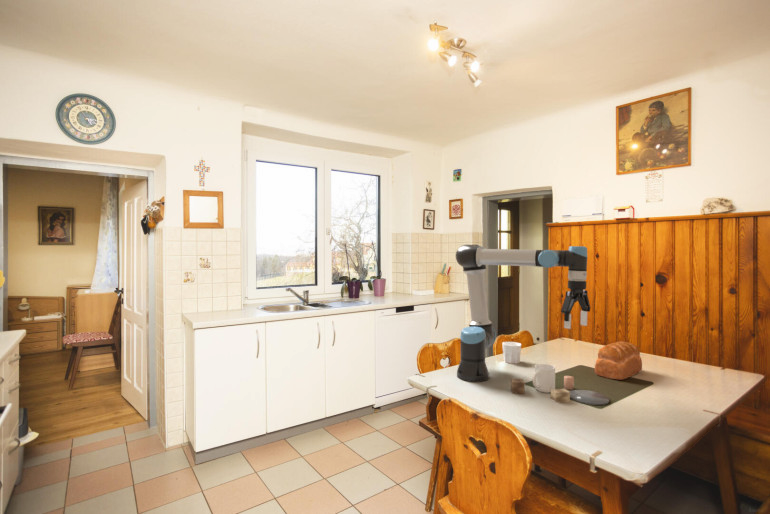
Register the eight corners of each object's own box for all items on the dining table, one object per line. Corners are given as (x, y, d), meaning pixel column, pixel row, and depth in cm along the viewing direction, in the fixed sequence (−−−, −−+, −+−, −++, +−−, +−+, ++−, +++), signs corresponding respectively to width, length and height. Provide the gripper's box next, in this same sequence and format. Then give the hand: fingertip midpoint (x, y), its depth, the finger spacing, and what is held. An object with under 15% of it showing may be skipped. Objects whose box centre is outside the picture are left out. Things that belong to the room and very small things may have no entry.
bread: (591, 374, 193) (592, 343, 193) (615, 365, 209) (615, 336, 208) (622, 382, 182) (622, 349, 181) (644, 371, 198) (645, 341, 197)
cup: (523, 364, 210) (523, 346, 210) (505, 364, 210) (505, 346, 210) (517, 359, 220) (517, 341, 220) (499, 359, 220) (500, 341, 220)
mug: (540, 396, 164) (541, 371, 164) (525, 389, 171) (525, 366, 171) (559, 391, 170) (559, 367, 170) (543, 385, 177) (543, 362, 177)
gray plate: (566, 400, 159) (566, 398, 159) (569, 389, 172) (569, 387, 172) (609, 408, 152) (609, 406, 152) (608, 395, 165) (608, 393, 165)
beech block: (555, 402, 158) (555, 392, 158) (550, 398, 162) (550, 389, 162) (569, 401, 158) (569, 392, 158) (564, 398, 162) (564, 388, 162)
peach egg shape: (563, 388, 173) (563, 377, 173) (564, 386, 176) (564, 375, 176) (573, 390, 171) (573, 379, 171) (574, 387, 174) (574, 376, 174)
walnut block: (512, 393, 167) (512, 382, 167) (510, 389, 172) (510, 378, 172) (524, 394, 166) (524, 382, 166) (522, 390, 171) (522, 379, 171)
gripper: (569, 281, 166) (568, 331, 167) (599, 279, 180) (598, 325, 181) (553, 280, 172) (552, 328, 173) (583, 278, 186) (582, 322, 187)
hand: (575, 326), depth 177 cm, fingers open, 13 cm apart
